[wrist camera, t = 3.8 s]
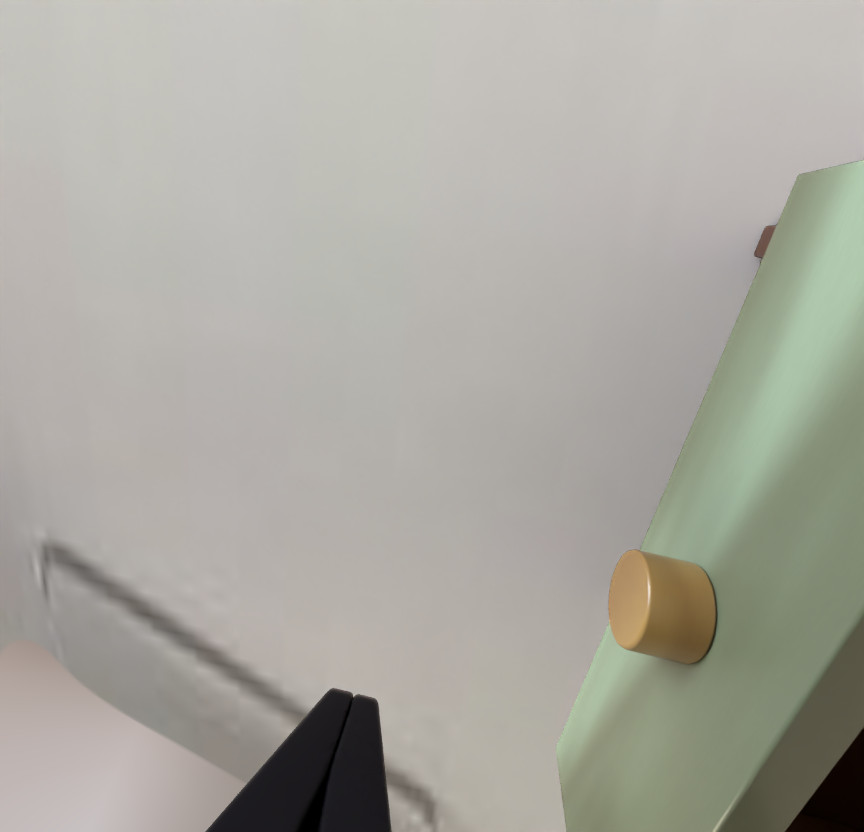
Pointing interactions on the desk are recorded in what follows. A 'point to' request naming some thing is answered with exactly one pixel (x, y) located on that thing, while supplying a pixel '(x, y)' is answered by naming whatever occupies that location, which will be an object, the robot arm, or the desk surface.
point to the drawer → (748, 572)
